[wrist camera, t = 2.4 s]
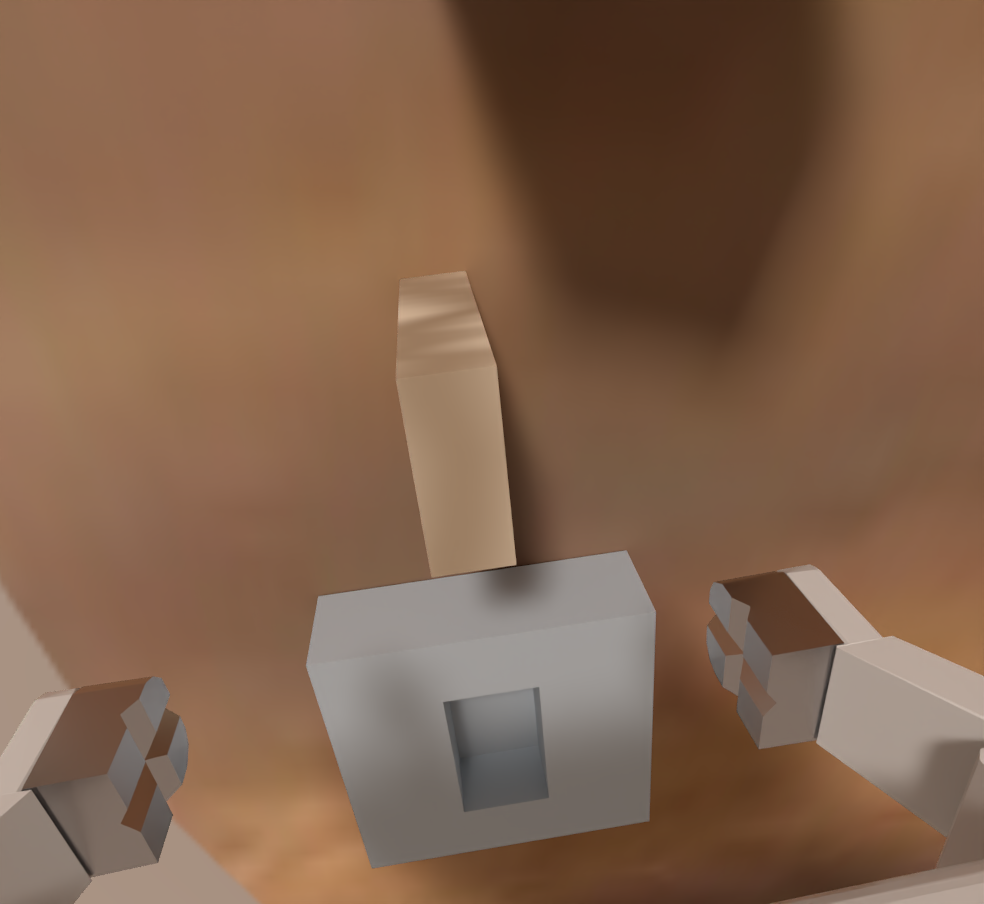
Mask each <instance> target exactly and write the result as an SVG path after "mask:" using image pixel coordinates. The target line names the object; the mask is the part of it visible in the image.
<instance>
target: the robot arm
mask: <svg viewBox="0 0 984 904" xmlns="http://www.w3.org/2000/svg"><path fill="white" fill-rule="evenodd" d="M709 603H710V605H711V607H712V608H713V610H714V611H715V613H716V615H715V616H714V617H713V619H712V620H711V621H710V622H709V624H708V625H707V647H708V652H709V658H710V661H711V664H712V666H713V669H714V672H715V674H716V676H717V678H718V679H719V681H720V683H721V685H722V687H724V688H725V689H727V690H729V691H730V692H732V693H734V694H735V695H737V696H738V702H737V713H738V715H739V716H740V718H741V720H742V722H743V723H744V725H745V727H746V728H747V730H748V732H749V734H750V735H751V737H752V739H753V740H754V742H755V744H756V746H757V747H758V749H763V748H769V747H776V746H782V745H788V744H795V743H801V742H807V741H813V740H817V742H816V743H817V744H818V745H820V746H821V747H822V748H824V749H825V750H827V751H828V752H829V753H831V754H832V755H833V756H835V757H836V758H838V759H839V760H840V761H842V762H843V763H844V764H846V765H847V766H849V767H850V768H851V769H853V770H854V771H856V772H857V773H858V774H860V775H861V776H862V777H864V778H865V779H867V780H868V781H869V782H871V783H872V784H873V785H875V786H876V787H878V788H879V789H880V790H882V791H883V792H885V793H886V794H887V795H889V796H890V797H891V798H893V799H894V800H896V801H897V802H898V803H900V804H901V805H902V806H904V807H905V808H907V809H908V810H909V811H911V812H912V813H914V814H915V815H916V816H918V817H919V818H920V819H922V820H923V821H925V822H926V823H927V824H929V825H930V826H931V827H933V828H934V829H936V830H937V831H938V832H940V833H941V834H943V835H944V836H945V837H947V838H946V841H945V843H944V846H943V849H942V851H941V854H940V857H939V859H938V862H937V864H936V867H935V869H933V870H928V871H923V872H918V873H914V874H909V875H904V876H899V877H894V878H890V879H885V880H880V881H875V882H870V883H865V884H861V885H856V886H851V887H846V888H841V889H837V890H832V891H827V892H822V893H817V894H813V895H808V896H803V897H798V898H793V899H789V900H784V901H779V902H774V903H769V904H984V676H982V675H980V674H978V673H975V672H973V671H971V670H969V669H966V668H964V667H962V666H959V665H957V664H955V663H953V662H950V661H948V660H946V659H944V658H941V657H939V656H937V655H935V654H932V653H930V652H928V651H926V650H923V649H921V648H919V647H917V646H914V645H912V644H910V643H908V642H905V641H903V640H901V639H898V638H896V637H894V636H890V637H884V638H883V637H882V636H881V635H880V634H879V633H878V632H877V631H876V630H875V629H874V628H873V626H872V625H871V624H870V623H869V622H868V621H867V620H866V619H865V618H864V617H863V616H862V615H861V614H860V613H859V612H858V610H857V609H856V608H855V607H854V606H853V605H852V604H851V603H850V602H849V601H848V600H847V599H846V598H845V597H844V596H843V594H842V593H841V592H840V591H839V590H838V589H837V588H836V587H835V586H834V585H833V584H832V583H831V582H830V581H829V580H828V578H827V577H826V576H825V575H824V574H823V573H822V572H821V571H820V570H819V569H818V568H817V567H814V566H812V565H810V564H809V565H804V566H798V567H793V568H787V569H782V570H778V571H777V572H775V571H773V572H768V573H762V574H756V575H751V576H745V577H739V578H734V579H728V580H722V581H717V582H714V583H713V585H712V587H711V589H710V597H709ZM169 696H170V694H169V692H168V690H167V688H166V686H165V684H164V682H163V680H162V678H158V677H146V678H139V679H132V680H125V681H118V682H111V683H104V684H97V685H91V686H84V687H81V688H76V689H69V690H62V691H54V692H47V693H45V694H43V695H42V696H40V697H39V698H37V699H36V700H35V701H34V702H33V704H32V705H31V707H30V709H29V710H28V712H27V714H26V715H25V717H24V719H23V720H22V722H21V724H20V725H19V727H18V729H17V730H16V732H15V734H14V735H13V737H12V739H11V741H10V742H9V744H8V745H7V747H6V748H5V750H4V752H3V754H2V756H1V757H0V904H74V902H75V901H76V900H77V899H78V898H79V896H80V895H81V893H83V891H84V890H85V889H86V888H87V886H88V885H89V884H90V883H91V881H92V880H91V878H90V877H95V876H99V875H104V874H108V873H113V872H118V871H122V870H127V869H132V868H135V867H141V866H145V865H150V864H154V863H158V861H159V858H160V854H161V851H162V848H163V844H164V841H165V838H166V835H167V832H168V829H169V825H170V822H171V819H172V816H173V814H172V812H171V810H170V808H169V806H168V804H167V802H166V801H167V800H168V799H169V798H170V797H171V796H172V795H173V794H174V793H175V792H176V791H177V789H178V788H179V787H180V786H181V785H182V783H183V779H184V776H185V772H186V769H187V762H188V739H187V734H186V729H185V726H184V724H183V722H182V720H181V717H180V716H179V715H177V714H175V713H173V712H171V711H170V710H168V709H166V708H165V707H166V704H167V702H168V699H169Z"/></svg>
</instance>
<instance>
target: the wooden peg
mask: <svg viewBox="0 0 984 904" xmlns="http://www.w3.org/2000/svg"><path fill="white" fill-rule="evenodd" d="M396 383H397V389H398V394H399V400H400V405H401V411H402V416H403V422H404V428H405V433H406V439H407V444H408V450H409V455H410V461H411V466H412V472H413V477H414V483H415V489H416V494H417V500H418V505H419V511H420V516H421V522H422V527H423V533H424V538H425V544H426V550H427V555H428V561H429V566H430V572H431V577H439V576H446V575H453V574H459V573H466V572H473V571H479V570H486V569H493V568H499V567H506V566H513V565H516V555H515V545H514V535H513V525H512V515H511V505H510V495H509V485H508V475H507V465H506V455H505V445H504V435H503V425H502V414H501V404H500V394H499V384H498V374H497V365H496V362H495V359H494V356H493V353H492V350H491V347H490V344H489V341H488V338H487V335H486V332H485V329H484V326H483V323H482V320H481V317H480V314H479V311H478V308H477V305H476V301H475V298H474V295H473V292H472V289H471V286H470V283H469V280H468V277H467V274H466V271H461V272H453V273H445V274H437V275H429V276H421V277H413V278H405V279H400V284H399V309H398V334H397V360H396Z"/></svg>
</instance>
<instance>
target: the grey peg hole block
mask: <svg viewBox="0 0 984 904" xmlns="http://www.w3.org/2000/svg"><path fill="white" fill-rule="evenodd" d="M655 625H656V611H655V609H654V607H653V605H652V603H651V601H650V598H649V596H648V594H647V592H646V590H645V588H644V586H643V584H642V582H641V580H640V578H639V575H638V573H637V571H636V569H635V567H634V565H633V563H632V561H631V559H630V557H629V555H628V553H627V550H626V551H620V552H613V553H606V554H600V555H593V556H586V557H580V558H573V559H566V560H559V561H553V562H546V563H539V564H533V565H526V566H519V567H512V568H506V569H499V570H492V571H486V572H479V573H472V574H465V575H459V576H452V577H445V578H439V579H432V580H425V581H418V582H412V583H405V584H398V585H392V586H385V587H378V588H371V589H365V590H358V591H351V592H345V593H338V594H331V595H324V596H318V601H317V607H316V613H315V618H314V624H313V630H312V635H311V641H310V647H309V652H308V658H307V664H306V667H307V670H308V673H309V676H310V679H311V682H312V685H313V689H314V692H315V695H316V698H317V701H318V704H319V707H320V710H321V713H322V716H323V719H324V722H325V725H326V729H327V732H328V735H329V738H330V741H331V744H332V747H333V750H334V753H335V756H336V759H337V762H338V765H339V769H340V772H341V775H342V778H343V781H344V784H345V787H346V790H347V793H348V796H349V799H350V802H351V805H352V809H353V812H354V815H355V818H356V821H357V824H358V827H359V830H360V833H361V836H362V839H363V842H364V845H365V849H366V852H367V855H368V858H369V861H370V864H371V867H372V868H378V867H384V866H390V865H395V864H401V863H407V862H413V861H419V860H425V859H431V858H436V857H442V856H448V855H454V854H460V853H466V852H472V851H477V850H483V849H489V848H495V847H501V846H507V845H512V844H518V843H524V842H530V841H536V840H542V839H548V838H553V837H559V836H565V835H571V834H577V833H583V832H589V831H594V830H600V829H606V828H612V827H618V826H624V825H630V824H635V823H641V822H647V821H649V818H650V786H651V754H652V722H653V690H654V658H655Z"/></svg>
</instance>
